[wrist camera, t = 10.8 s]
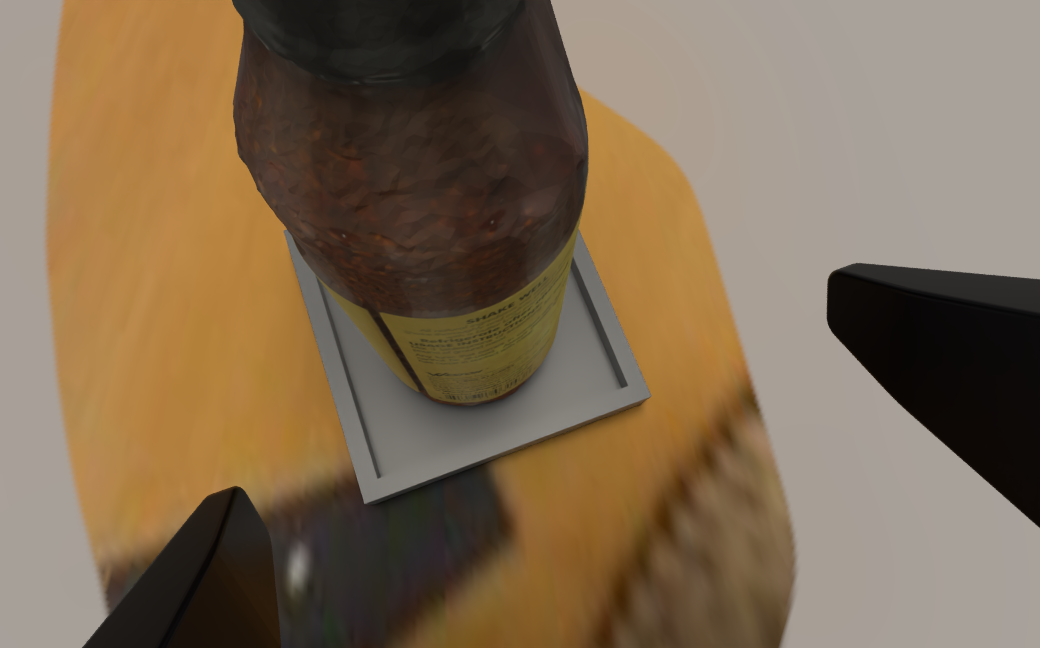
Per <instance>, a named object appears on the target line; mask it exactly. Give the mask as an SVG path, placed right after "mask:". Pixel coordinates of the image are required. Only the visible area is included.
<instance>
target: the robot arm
mask: <svg viewBox="0 0 1040 648" xmlns="http://www.w3.org/2000/svg"><path fill="white" fill-rule="evenodd" d="M827 285H828V286H827V287H828V288H827V322H828V325H829V328H830V329H831V331H832V333H833V334H834V335H835V336H836V337H837V338H838V339H839V341H840V342H841V343H842V344H843V345H844V346H845V347H846V348H847V349H848V350H849V351H850V352H851V353H852V355H854V356H855V358H856V359H857V360H858V361H859V362H860V363H861V364H862V365H863V366H864V367H865V368H866V370H867V371H868V372H869V373H870V374H871V375H872V376H873V377H874V378H875V379H876V380H877V381H878V382H879V383H880V384H881V386H882V387H884V389H885V390H886V391H887V392H888V393H889V394H890V395H891V396H892V397H893V398H894V399H895V400H896V401H897V402H898V403H899V404H900V405H901V406H902V407H903V408H904V409H906V411H908V412H909V413H910V414H911V415H912V416H913V417H914V418H915V419H917V420H918V421H919V422H920V423H921V424H922V425H923V426H925V427H926V428H927V429H928V430H929V431H930V432H932V433H933V434H934V435H935V436H936V437H937V438H938V439H939V440H940V441H942V442H943V443H944V444H945V445H946V446H947V447H948V448H950V449H951V450H952V451H953V452H954V453H955V454H956V455H957V456H959V457H960V458H961V459H962V460H963V461H964V462H966V463H967V464H968V465H969V466H970V467H971V468H972V469H973V470H975V471H976V472H977V473H978V474H979V475H980V476H981V477H983V478H984V479H985V480H986V481H987V482H988V483H989V484H990V485H992V486H993V487H994V488H995V489H996V490H997V491H998V492H1000V493H1001V494H1002V495H1003V496H1004V497H1005V498H1006V499H1008V500H1009V501H1010V502H1011V503H1012V504H1013V505H1014V506H1015V507H1017V508H1018V509H1019V510H1020V511H1021V512H1022V513H1024V514H1025V515H1026V516H1027V517H1028V518H1029V519H1030V520H1031V521H1032V522H1034V523H1035V524H1036V525H1037V526H1038V527H1039V528H1040V279H1029V278H1017V277H1007V276H996V275H985V274H974V273H963V272H951V271H941V270H930V269H918V268H908V267H897V266H886V265H875V264H863V263H856V264H851V265H848V266H846V267H843V268H840V269H838V270H835V271H833V272H832V273H831V274H830V276H829V278H828V284H827ZM82 648H281V640H280V627H279V617H278V606H277V596H276V586H275V575H274V565H273V555H272V545H271V539H270V535H269V532H268V530H267V528H266V526H265V524H264V522H263V521H262V519H261V517H260V516H259V514H258V512H257V510H256V509H255V507H254V505H253V504H252V502H251V500H250V499H249V497H248V495H247V494H246V492H245V491H244V490H243V489H242V488H241V487H238V486H233V487H230V488H227V489H225V490H222V491H219V492H216V493H213V494H211V495H209V496H207V497H206V498H205V499H204V500H203V501H202V502H201V504H200V505H199V506H198V507H197V508H196V510H195V511H194V512H193V513H192V515H191V516H190V517H189V518H188V519H187V521H186V522H185V523H184V524H183V526H182V527H181V528H180V529H179V530H178V532H177V533H176V534H175V535H174V537H173V538H172V539H171V540H170V541H169V543H168V544H167V545H166V546H165V547H164V549H163V550H162V551H161V552H160V554H159V555H158V556H157V557H156V558H155V560H154V561H153V562H152V563H151V565H150V566H149V567H148V568H147V569H146V571H145V572H144V573H143V574H142V575H141V577H140V578H139V579H138V580H137V582H136V583H135V584H134V585H133V586H132V588H131V589H130V590H129V591H128V593H127V594H126V595H125V596H124V597H123V599H122V600H121V601H120V602H119V603H118V605H117V606H116V607H115V608H114V610H113V611H112V612H111V613H110V614H109V616H108V617H107V618H106V619H105V621H104V622H103V623H102V624H101V625H100V627H99V628H98V629H97V630H96V631H95V633H94V634H93V635H92V636H91V638H90V639H89V640H88V641H87V642H86V644H85V645H84V646H83V647H82Z"/></svg>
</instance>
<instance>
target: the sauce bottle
mask: <svg viewBox="0 0 1040 648" xmlns="http://www.w3.org/2000/svg"><path fill="white" fill-rule="evenodd" d="M232 2H233V5H234V7H235V8H236V10H237V11H238V13H239V14H240V15H241V17H242V18H243V23H244V35H243V42H242V48H241V55H240V61H239V68H238V75H237V81H236V87H235V94H234V100H233V106H234V109H233V118H234V123H235V137H236V141H237V146H238V154H239V157H240V158H241V160H242V161H243V162H244V163H245V164H246V165H247V167H248V169H249V171H250V173H251V175H252V177H253V179H254V181H255V183H256V186H257V190H258V191H259V192H260V193H261V195H262V197H263V198H264V199H265V201H266V202H267V204H268V205H269V207H270V208H271V209H272V210H273V211H274V213H275V214H276V216H277V217H278V219H279V220H280V221H281V222H282V223H283V224H284V226H286V228H287V230H288V232H289V233H290V234H291V236H292V239H293V241H294V243H295V245H296V247H297V249H298V251H299V253H300V254H301V256H302V258H303V259H304V261H305V262H306V264H307V265H308V266H309V267H310V269H311V270H312V271H313V273H314V274H315V275H316V276H317V278H318V279H319V280H320V282H321V283H322V284H323V285H324V287H325V288H326V289H327V290H328V292H329V293H330V294H331V295H332V297H333V298H334V299H335V300H336V301H337V303H338V304H339V305H340V306H341V308H342V309H343V310H344V311H345V313H346V314H347V315H348V316H349V318H350V319H351V320H352V321H353V323H354V324H355V325H356V326H357V328H358V329H359V330H360V331H361V333H362V334H363V335H364V336H365V338H366V339H367V340H368V341H369V343H370V344H371V345H372V346H373V348H374V349H375V350H376V352H377V353H378V354H379V355H380V357H381V358H382V359H383V360H384V362H385V363H386V364H387V365H388V367H389V368H390V369H391V370H392V372H393V373H394V374H395V375H396V376H397V377H398V378H399V379H400V380H401V381H402V382H404V383H405V384H406V385H407V386H409V387H410V388H412V389H414V390H415V391H417V392H422V393H423V394H424V395H425V396H426V397H428V398H429V399H431V400H432V401H435V402H438V403H442V404H448V405H455V406H474V405H477V404H481V403H487V402H493V401H495V400H500V399H503V398H506V397H507V396H509V395H511V394H513V393H515V392H516V391H517V390H518V389H519V387H520V386H522V385H523V384H524V383H525V382H526V381H527V380H528V379H529V378H530V377H531V376H532V375H533V374H534V372H535V371H536V370H537V369H538V367H539V366H540V365H541V364H542V362H543V360H544V359H545V357H546V355H547V353H548V352H549V350H550V348H551V347H552V344H553V342H554V339H555V336H556V332H557V328H558V323H559V318H560V314H561V310H562V306H563V300H564V295H565V289H566V284H567V280H568V275H569V271H570V266H571V262H572V257H573V252H574V247H575V243H576V238H577V233H578V228H579V223H580V219H581V214H582V209H583V204H584V199H585V193H586V186H587V177H588V159H589V158H588V133H587V124H586V118H585V114H584V109H583V105H582V100H581V96H580V94H579V91H578V88H577V86H576V83H575V81H574V78H573V75H572V72H571V68H570V65H569V61H568V58H567V55H566V51H565V48H564V45H563V42H562V39H561V35H560V31H559V28H558V25H557V21H556V18H555V14H554V11H553V8H552V4H551V1H550V0H232Z"/></svg>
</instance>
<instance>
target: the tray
mask: <svg viewBox="0 0 1040 648" xmlns="http://www.w3.org/2000/svg"><path fill="white" fill-rule="evenodd" d="M284 234H285V237H286V240H287V244H288V247H289V251H290V254H291V257H292V261H293V264H294V267H295V271H296V274H297V278H298V281H299V284H300V288H301V291H302V294H303V298H304V301H305V305H306V308H307V311H308V315H309V318H310V321H311V325H312V328H313V332H314V335H315V338H316V342H317V345H318V348H319V352H320V355H321V358H322V362H323V365H324V369H325V372H326V375H327V379H328V382H329V385H330V389H331V392H332V396H333V399H334V402H335V406H336V409H337V412H338V416H339V419H340V423H341V426H342V429H343V433H344V436H345V439H346V443H347V446H348V450H349V453H350V456H351V460H352V463H353V466H354V470H355V473H356V476H357V480H358V483H359V487H360V490H361V493H362V497H363V500H364V503H365V504H369V505H374V504H377V503H380V502H382V501H385V500H388V499H390V498H393V497H396V496H398V495H401V494H404V493H406V492H409V491H412V490H414V489H417V488H420V487H422V486H425V485H427V484H430V483H433V482H435V481H438V480H441V479H443V478H446V477H449V476H451V475H454V474H457V473H459V472H462V471H465V470H467V469H470V468H473V467H475V466H478V465H481V464H483V463H486V462H489V461H491V460H494V459H497V458H499V457H502V456H505V455H507V454H510V453H513V452H515V451H518V450H520V449H523V448H526V447H528V446H531V445H534V444H536V443H539V442H542V441H544V440H547V439H550V438H552V437H555V436H558V435H560V434H563V433H566V432H568V431H571V430H574V429H576V428H579V427H582V426H584V425H587V424H590V423H592V422H595V421H598V420H600V419H603V418H606V417H608V416H611V415H614V414H616V413H619V412H621V411H624V410H627V409H629V408H632V407H635V406H637V405H640V404H642V403H643V402H645V401H646V400H647V399H649V398H650V397H651V394H650V392H649V389H648V387H647V385H646V382H645V380H644V378H643V376H642V373H641V371H640V369H639V366H638V364H637V362H636V359H635V357H634V355H633V353H632V350H631V348H630V346H629V343H628V341H627V339H626V337H625V334H624V332H623V330H622V327H621V325H620V323H619V320H618V318H617V316H616V314H615V311H614V309H613V307H612V304H611V302H610V300H609V297H608V295H607V293H606V291H605V288H604V286H603V284H602V281H601V279H600V277H599V275H598V272H597V270H596V268H595V265H594V263H593V261H592V258H591V256H590V254H589V252H588V249H587V247H586V245H585V242H584V240H583V238H582V235H581V233H580V231H579V229H578V233H577V238H576V243H575V247H574V252H573V257H572V262H571V266H570V271H569V275H568V280H567V284H566V289H565V295H564V300H563V306H562V310H561V314H560V318H559V323H558V328H557V332H556V336H555V339H554V342H553V344H552V347H551V348H550V350H549V352H548V353H547V355H546V357H545V359H544V360H543V362H542V364H541V365H540V366H539V367H538V369H537V370H536V371H535V372H534V374H533V375H532V376H531V377H530V378H529V379H528V380H527V381H526V382H525V383H524V384H523V385H522V386H520V387H519V389H518V390H517V391H516V392H515V393H513V394H511V395H509V396H507V397H506V398H503V399H500V400H495V401H493V402H487V403H481V404H477V405H474V406H455V405H448V404H442V403H438V402H435V401H432V400H431V399H429V398H428V397H426V396H425V395H424V394H423V393H422V392H417V391H415V390H414V389H412V388H410V387H409V386H407V385H406V384H405V383H404V382H402V381H401V380H400V379H399V378H398V377H397V376H396V375H395V374H394V373H393V372H392V370H391V369H390V368H389V367H388V365H387V364H386V363H385V362H384V360H383V359H382V358H381V357H380V355H379V354H378V353H377V352H376V350H375V349H374V348H373V346H372V345H371V344H370V343H369V341H368V340H367V339H366V338H365V336H364V335H363V334H362V333H361V331H360V330H359V329H358V328H357V326H356V325H355V324H354V323H353V321H352V320H351V319H350V318H349V316H348V315H347V314H346V313H345V311H344V310H343V309H342V308H341V306H340V305H339V304H338V303H337V301H336V300H335V299H334V298H333V297H332V295H331V294H330V293H329V292H328V290H327V289H326V288H325V287H324V285H323V284H322V283H321V282H320V280H319V279H318V278H317V276H316V275H315V274H314V273H313V271H312V270H311V269H310V267H309V266H308V265H307V264H306V262H305V261H304V259H303V258H302V256H301V254H300V253H299V251H298V249H297V247H296V245H295V243H294V241H293V239H292V236H291V234H290V233H289V232H288V230H284Z"/></svg>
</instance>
